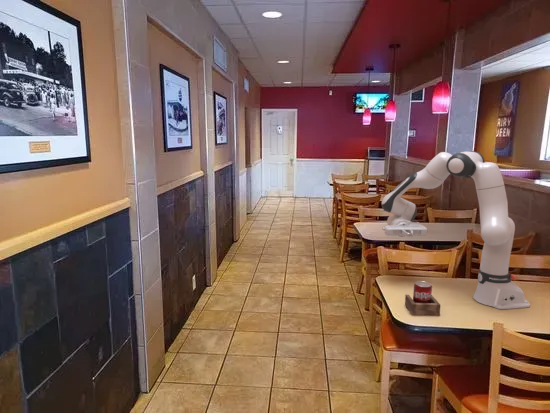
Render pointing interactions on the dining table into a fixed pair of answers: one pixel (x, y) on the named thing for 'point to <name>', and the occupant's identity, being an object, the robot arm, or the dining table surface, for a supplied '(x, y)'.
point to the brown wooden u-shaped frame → (422, 307)
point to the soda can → (422, 292)
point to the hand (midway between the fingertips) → (410, 234)
